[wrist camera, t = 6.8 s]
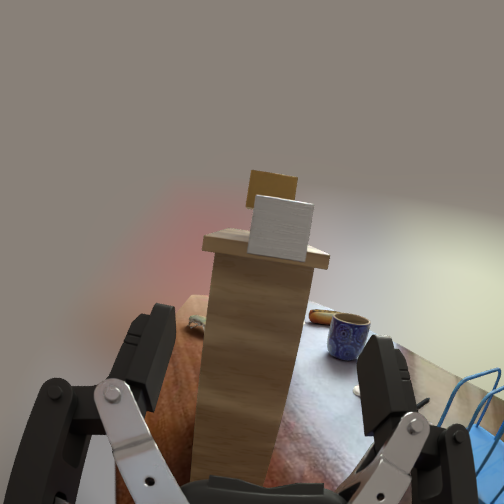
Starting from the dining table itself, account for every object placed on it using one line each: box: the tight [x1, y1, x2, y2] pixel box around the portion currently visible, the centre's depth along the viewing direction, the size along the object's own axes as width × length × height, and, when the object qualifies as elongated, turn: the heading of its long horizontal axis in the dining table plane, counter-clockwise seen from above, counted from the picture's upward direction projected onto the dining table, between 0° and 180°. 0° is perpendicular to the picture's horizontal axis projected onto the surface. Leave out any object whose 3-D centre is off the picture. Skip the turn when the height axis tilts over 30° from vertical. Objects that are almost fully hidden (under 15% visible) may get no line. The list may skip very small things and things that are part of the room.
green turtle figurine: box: [187, 315, 206, 333], centre depth 86 cm, size 9×11×5 cm
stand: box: [190, 228, 330, 487], centre depth 38 cm, size 25×10×31 cm, turn 0°
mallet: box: [246, 170, 314, 262], centre depth 27 cm, size 22×5×7 cm, turn 0°
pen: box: [417, 398, 430, 409], centre depth 54 cm, size 1×16×1 cm, turn 122°
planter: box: [327, 313, 370, 360], centre depth 82 cm, size 11×11×11 cm
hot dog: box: [309, 309, 341, 325], centre depth 112 cm, size 5×13×5 cm, turn 95°
